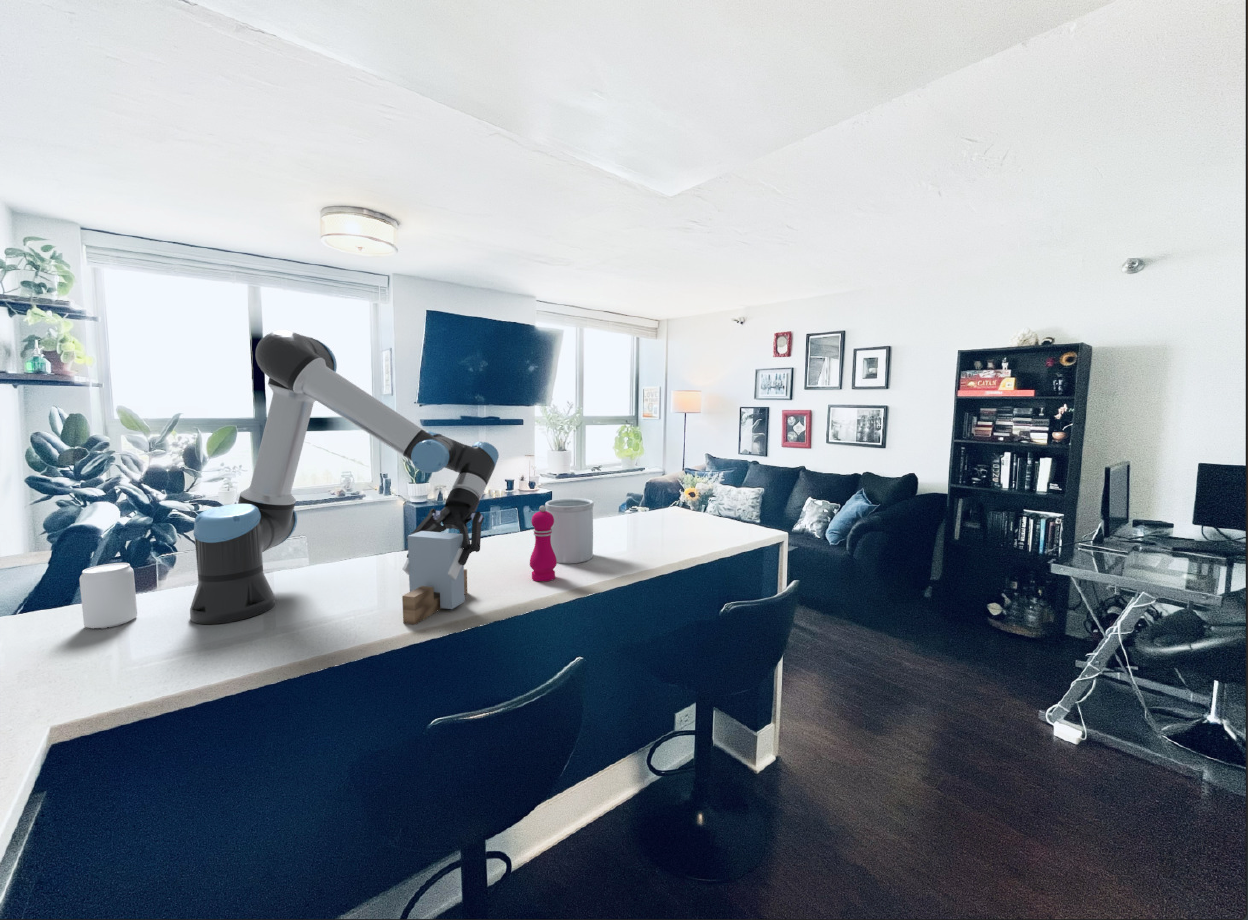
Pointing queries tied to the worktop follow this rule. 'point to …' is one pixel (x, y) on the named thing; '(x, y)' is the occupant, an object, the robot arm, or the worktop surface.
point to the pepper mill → (543, 547)
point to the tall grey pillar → (436, 565)
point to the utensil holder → (571, 529)
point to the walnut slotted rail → (423, 603)
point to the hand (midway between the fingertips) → (428, 574)
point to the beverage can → (108, 595)
